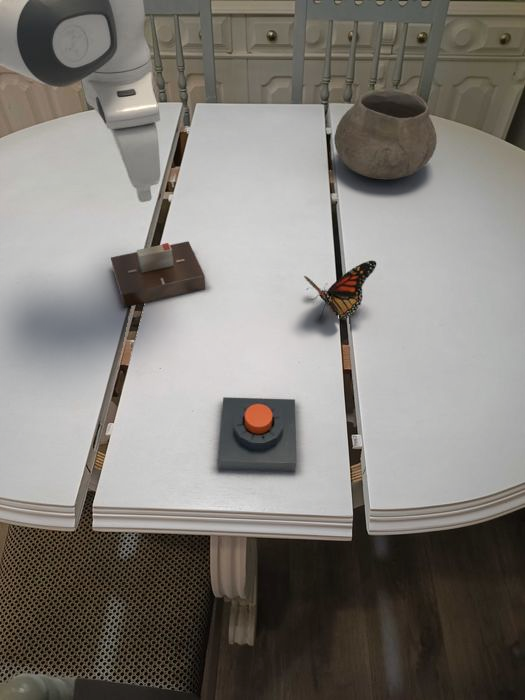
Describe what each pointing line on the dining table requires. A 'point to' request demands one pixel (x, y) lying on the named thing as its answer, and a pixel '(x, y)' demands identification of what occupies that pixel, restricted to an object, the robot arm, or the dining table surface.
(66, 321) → the dining table surface
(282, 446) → the button box
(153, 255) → the dial knob
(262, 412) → the orange button
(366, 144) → the clay pot
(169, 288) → the dial panel
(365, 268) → the butterfly
